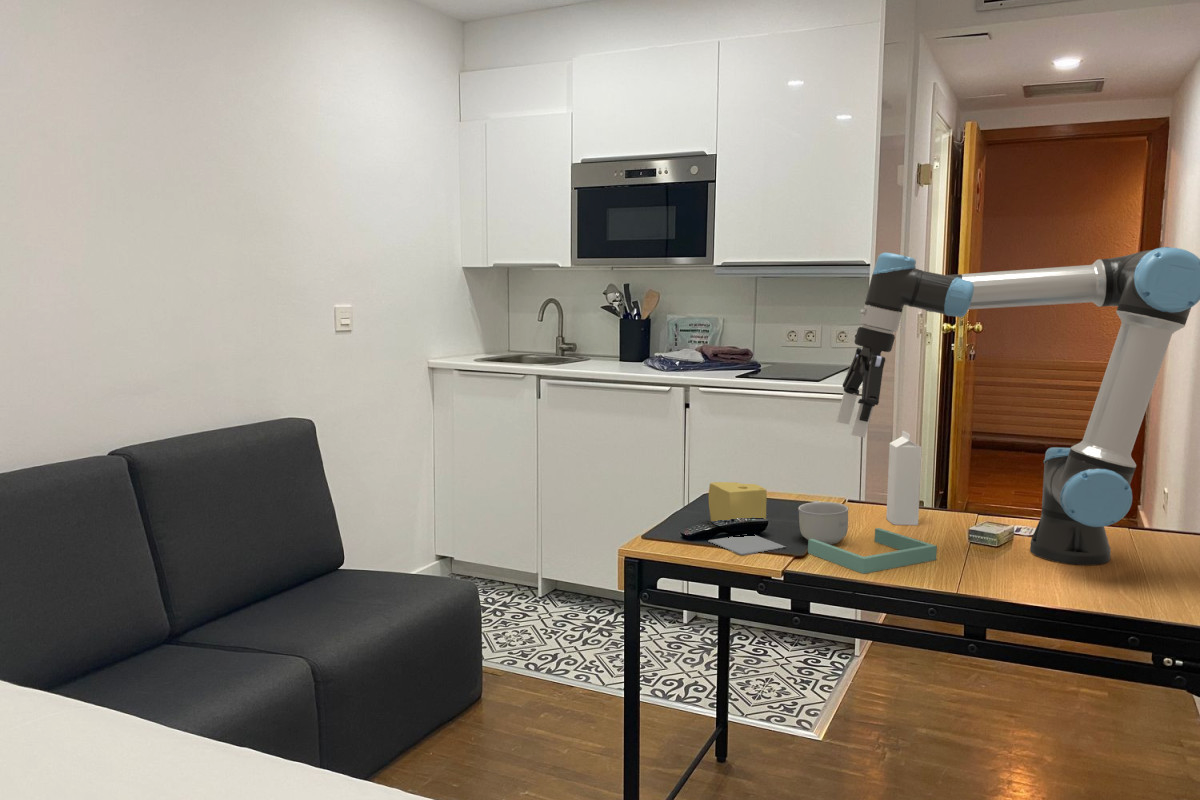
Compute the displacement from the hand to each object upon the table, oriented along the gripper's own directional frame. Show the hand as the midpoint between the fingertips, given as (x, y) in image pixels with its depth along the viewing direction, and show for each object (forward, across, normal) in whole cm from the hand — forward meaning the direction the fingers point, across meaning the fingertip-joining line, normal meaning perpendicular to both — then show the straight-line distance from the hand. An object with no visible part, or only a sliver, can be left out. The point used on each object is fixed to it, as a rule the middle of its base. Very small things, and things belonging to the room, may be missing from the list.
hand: (849, 429), depth 191 cm
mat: (+31, -6, -14) cm, 34 cm away
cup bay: (+25, +1, +11) cm, 27 cm away
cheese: (+32, -22, -14) cm, 41 cm away
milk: (+24, -28, +26) cm, 45 cm away
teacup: (+28, -11, +4) cm, 30 cm away
